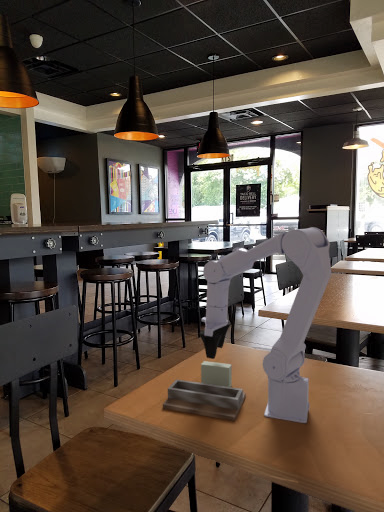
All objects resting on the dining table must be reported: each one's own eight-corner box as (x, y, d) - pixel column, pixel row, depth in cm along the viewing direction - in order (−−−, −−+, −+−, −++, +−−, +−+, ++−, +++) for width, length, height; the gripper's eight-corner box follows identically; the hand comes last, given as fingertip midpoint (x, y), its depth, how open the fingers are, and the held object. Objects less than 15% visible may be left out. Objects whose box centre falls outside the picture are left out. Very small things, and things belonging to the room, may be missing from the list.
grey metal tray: (245, 396, 96) (245, 383, 95) (234, 421, 84) (234, 406, 84) (180, 386, 102) (180, 374, 101) (162, 408, 91) (162, 394, 90)
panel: (231, 385, 102) (231, 364, 102) (229, 389, 100) (229, 368, 99) (204, 381, 105) (203, 360, 104) (201, 385, 103) (201, 364, 102)
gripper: (210, 296, 107) (208, 340, 109) (193, 309, 94) (192, 360, 96) (234, 299, 105) (232, 344, 107) (220, 313, 91) (218, 365, 93)
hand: (214, 352), depth 101 cm, fingers open, 7 cm apart
